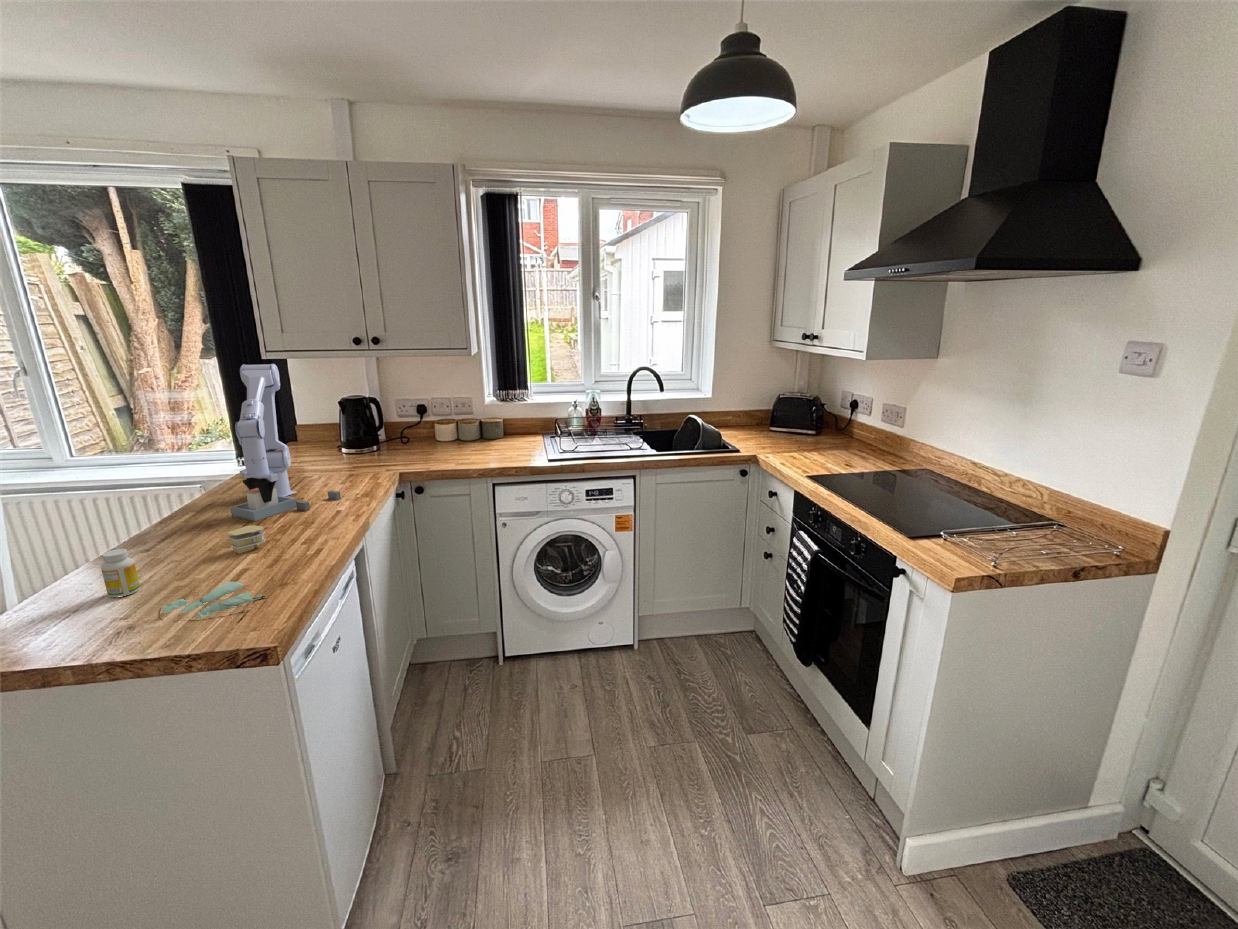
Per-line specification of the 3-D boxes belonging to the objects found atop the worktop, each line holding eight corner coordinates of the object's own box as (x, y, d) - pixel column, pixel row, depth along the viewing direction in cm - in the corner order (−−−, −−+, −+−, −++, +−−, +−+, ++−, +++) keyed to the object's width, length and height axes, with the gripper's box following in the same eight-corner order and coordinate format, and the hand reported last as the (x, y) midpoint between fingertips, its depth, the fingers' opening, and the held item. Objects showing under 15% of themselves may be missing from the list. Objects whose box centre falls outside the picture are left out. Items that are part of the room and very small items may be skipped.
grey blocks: (296, 509, 172) (295, 501, 171) (332, 497, 183) (331, 490, 183) (305, 510, 170) (304, 503, 170) (340, 498, 182) (339, 491, 181)
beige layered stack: (237, 560, 136) (233, 539, 135) (220, 552, 141) (216, 532, 139) (279, 546, 144) (275, 527, 143) (261, 539, 149) (258, 520, 148)
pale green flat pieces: (142, 613, 112) (140, 602, 112) (256, 572, 130) (254, 563, 130) (186, 643, 102) (183, 632, 101) (303, 594, 120) (301, 584, 119)
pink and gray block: (249, 508, 167) (245, 491, 165) (271, 501, 173) (268, 484, 171) (256, 509, 165) (253, 492, 164) (278, 502, 171) (275, 486, 170)
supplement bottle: (110, 601, 116) (99, 560, 113) (106, 593, 119) (95, 553, 117) (143, 592, 120) (133, 551, 117) (138, 584, 123) (128, 545, 121)
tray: (231, 516, 166) (230, 507, 165) (274, 503, 178) (273, 494, 177) (255, 521, 162) (253, 511, 161) (297, 507, 174) (295, 498, 173)
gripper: (226, 459, 164) (234, 501, 168) (258, 464, 159) (266, 507, 162) (249, 454, 171) (257, 495, 174) (281, 458, 165) (288, 500, 169)
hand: (263, 500), depth 169 cm, fingers closed on pink and gray block, 3 cm apart
